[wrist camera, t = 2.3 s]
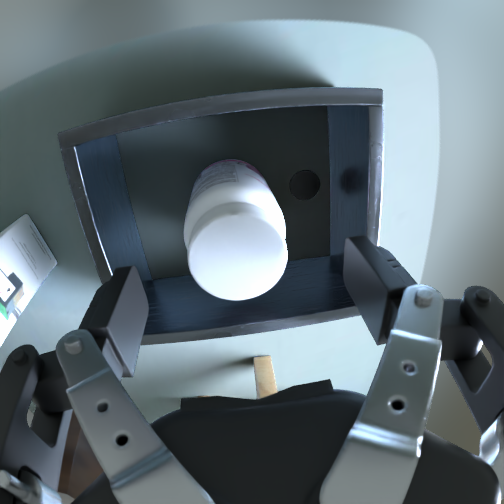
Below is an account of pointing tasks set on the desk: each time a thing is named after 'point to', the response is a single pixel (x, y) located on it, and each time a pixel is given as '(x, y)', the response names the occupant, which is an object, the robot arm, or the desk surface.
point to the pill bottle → (234, 232)
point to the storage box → (302, 187)
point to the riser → (77, 464)
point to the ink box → (21, 269)
